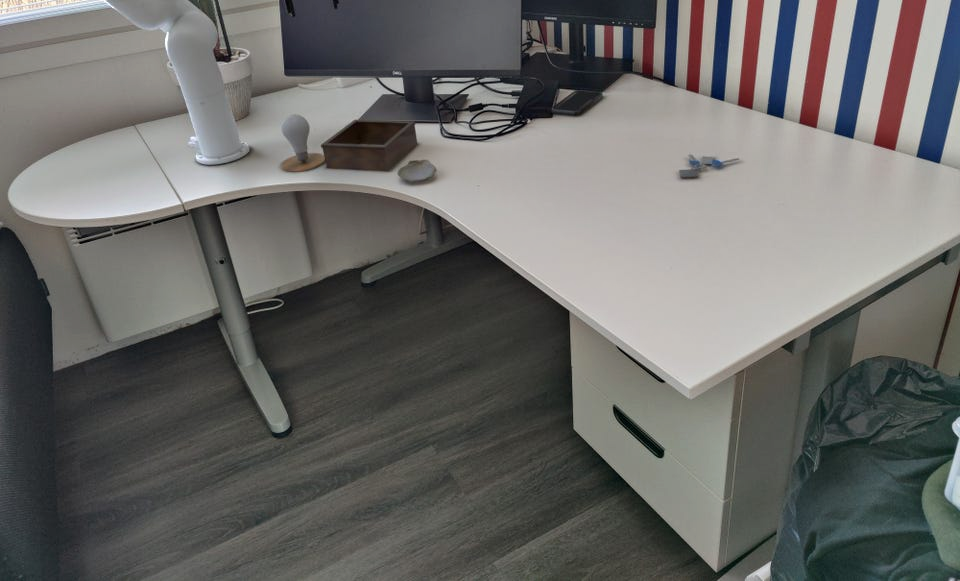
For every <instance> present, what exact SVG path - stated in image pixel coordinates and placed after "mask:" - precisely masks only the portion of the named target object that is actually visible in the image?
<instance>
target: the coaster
mask: <svg viewBox="0 0 960 581" xmlns="http://www.w3.org/2000/svg"><path fill="white" fill-rule="evenodd" d="M307 153H308V159H307V160H306V161H305V162H301V161H299V160H297V157H296V155H293V156H291V157H288V158H286V159H285V160H284V161H282V163H281V165H280V166H281V169H282V170H283V171H285V172H292V173H300V172H307V171H310V170H312V169H313V170H314V169H316V168H319V167H320V166H322V165H323V164H324V163H326V162H325V157H324V154H321V153H316V152H307Z"/></svg>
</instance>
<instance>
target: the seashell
mask: <svg viewBox="0 0 960 581" xmlns="http://www.w3.org/2000/svg"><path fill="white" fill-rule="evenodd" d="M436 173H437V167H436V166H435V165H434V164H432V162H431V161H430V160H429V159H417V160H416V159H413V160H409V161H408V163H407V164H405V165H403V166H402V167H400V168H399V169H398V170H397V176H398V177H399V178H401V180H404V181H405V182H413V183H414V182H415V183H416V182H422V181H425V180H429V178H432V177H434V176H435V175H436Z"/></svg>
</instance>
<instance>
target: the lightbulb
mask: <svg viewBox="0 0 960 581" xmlns="http://www.w3.org/2000/svg"><path fill="white" fill-rule="evenodd" d="M310 128H311V126H310V124H309V122H308V120H307V119H306V118H305V117H304V116H303V115H301V114H290V115H288V116H286V117H285V118H284V119H283V121H282V123H281V132H282V134H283V136H284V138H285V139H286V140H287V141H288V142H289V144H290V145H291V148H292V149H293V152H294V153H295V156H296V157H297V160H299V161H301V162H305V161H306V160H307V159H308V153H309V152H308V139H309V134H310V131H311V130H310Z"/></svg>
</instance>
